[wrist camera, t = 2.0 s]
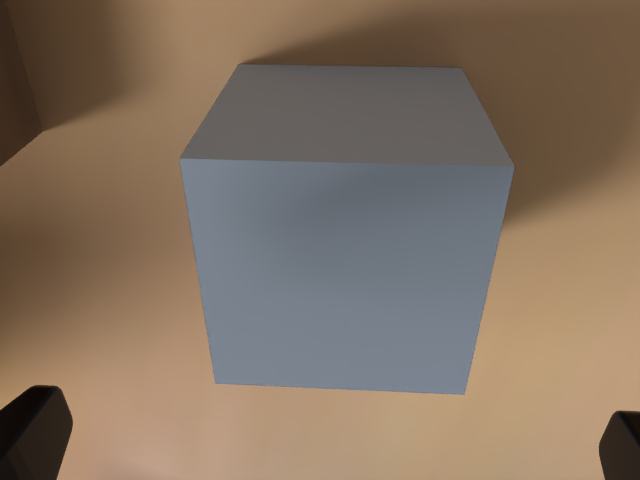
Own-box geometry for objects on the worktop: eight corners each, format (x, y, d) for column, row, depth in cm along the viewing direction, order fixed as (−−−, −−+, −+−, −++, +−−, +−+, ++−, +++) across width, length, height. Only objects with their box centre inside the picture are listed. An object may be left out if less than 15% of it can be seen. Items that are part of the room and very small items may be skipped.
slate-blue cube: (254, 244, 18) (215, 383, 13) (239, 63, 15) (179, 158, 10) (434, 250, 18) (464, 394, 13) (461, 66, 15) (514, 166, 10)
